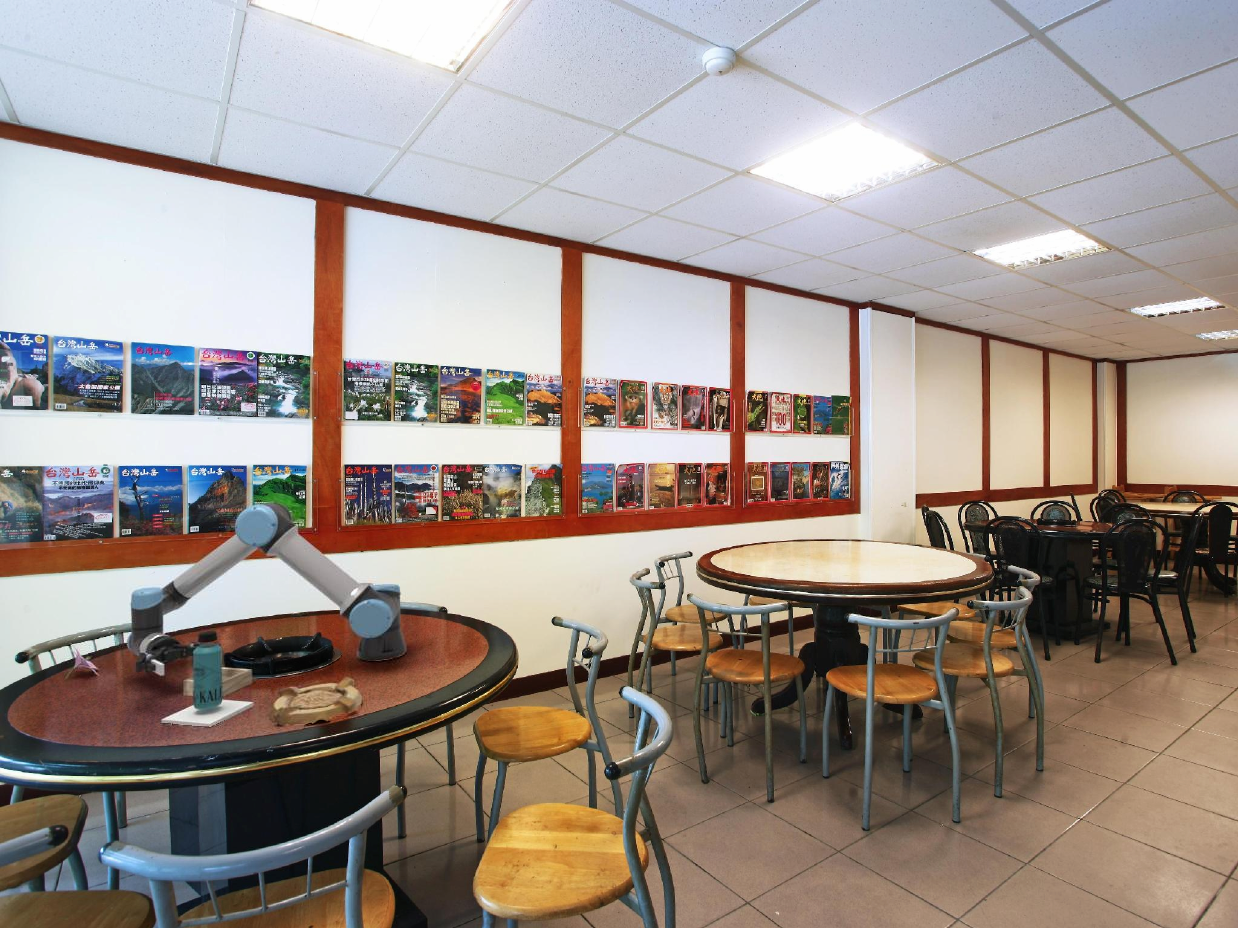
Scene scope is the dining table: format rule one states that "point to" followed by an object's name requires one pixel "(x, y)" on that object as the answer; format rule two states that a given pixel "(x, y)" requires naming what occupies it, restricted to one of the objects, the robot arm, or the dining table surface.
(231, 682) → the wooden tray
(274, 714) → the ashtray
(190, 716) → the rubber mat
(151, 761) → the dining table surface
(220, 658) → the beverage bottle
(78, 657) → the lily
